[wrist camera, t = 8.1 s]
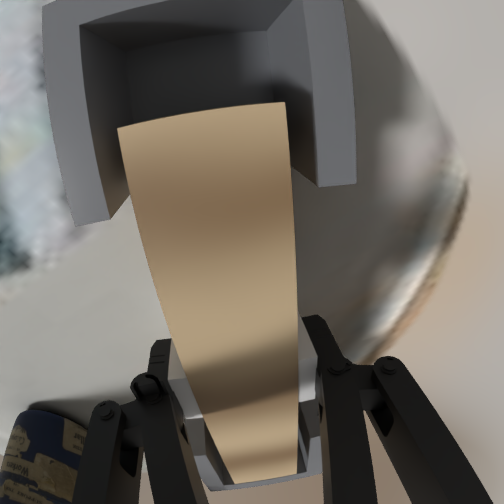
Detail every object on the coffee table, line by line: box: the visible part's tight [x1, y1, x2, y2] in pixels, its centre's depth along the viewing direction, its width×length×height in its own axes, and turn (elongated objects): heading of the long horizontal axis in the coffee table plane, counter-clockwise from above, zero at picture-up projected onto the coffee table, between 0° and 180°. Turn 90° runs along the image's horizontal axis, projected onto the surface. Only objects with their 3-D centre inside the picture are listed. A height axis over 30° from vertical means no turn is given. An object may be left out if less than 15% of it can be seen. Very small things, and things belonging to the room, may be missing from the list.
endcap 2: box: [185, 392, 322, 491], centre depth 19 cm, size 7×8×6 cm
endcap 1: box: [42, 0, 356, 227], centre depth 9 cm, size 7×8×6 cm
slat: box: [117, 102, 298, 484], centre depth 14 cm, size 20×4×6 cm, turn 6°
